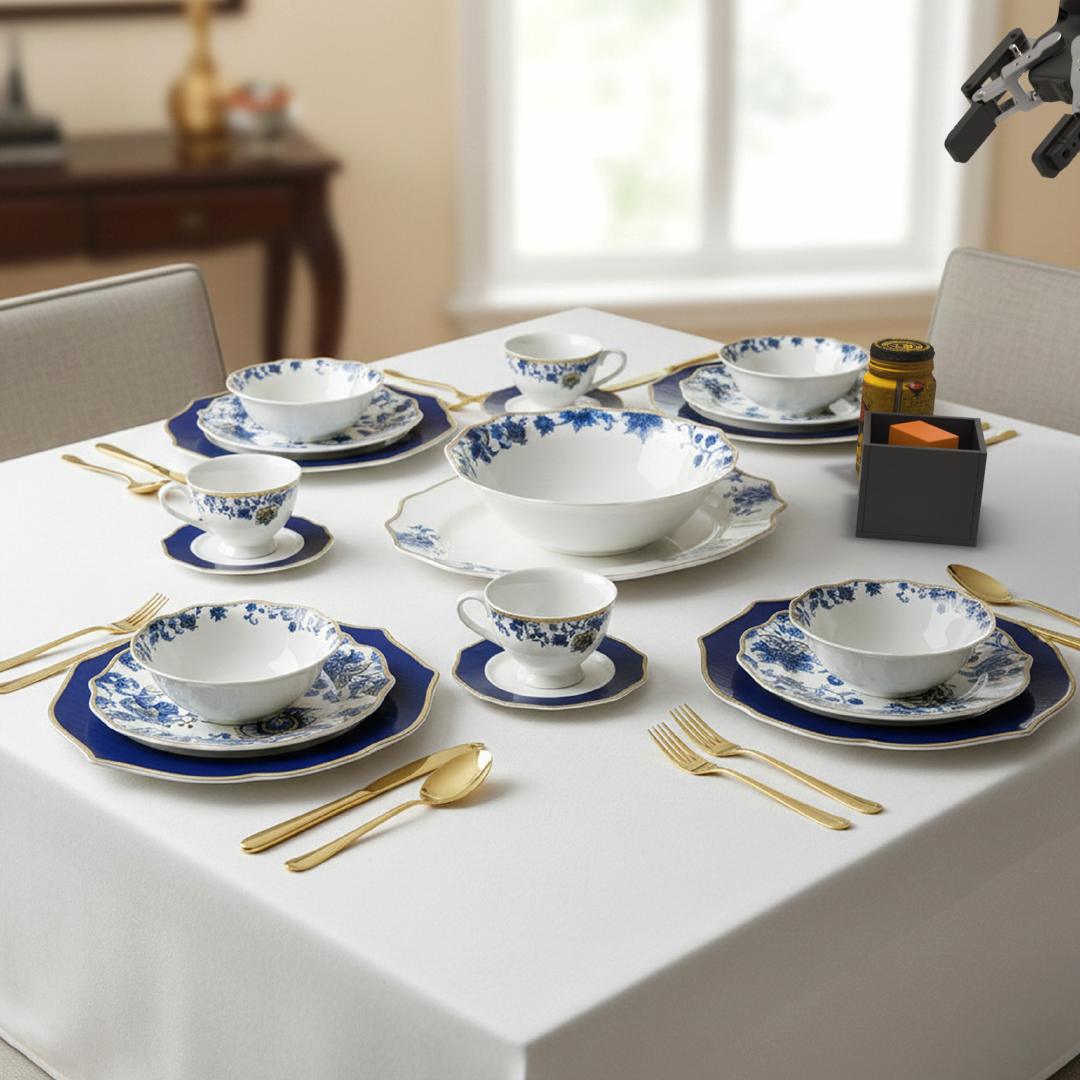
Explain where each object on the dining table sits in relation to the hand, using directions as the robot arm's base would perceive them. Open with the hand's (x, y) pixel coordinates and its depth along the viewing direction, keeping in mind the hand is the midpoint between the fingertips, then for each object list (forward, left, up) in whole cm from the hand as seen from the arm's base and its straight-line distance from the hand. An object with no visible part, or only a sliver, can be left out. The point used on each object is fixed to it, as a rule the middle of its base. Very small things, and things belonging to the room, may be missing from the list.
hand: (995, 161), depth 98 cm
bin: (+2, -7, -29) cm, 30 cm away
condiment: (+3, -18, -29) cm, 34 cm away
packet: (+2, -7, -28) cm, 29 cm away
